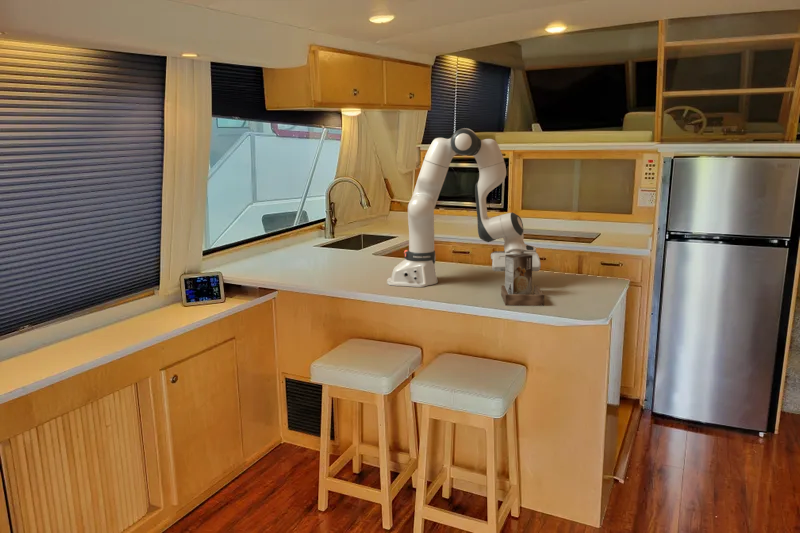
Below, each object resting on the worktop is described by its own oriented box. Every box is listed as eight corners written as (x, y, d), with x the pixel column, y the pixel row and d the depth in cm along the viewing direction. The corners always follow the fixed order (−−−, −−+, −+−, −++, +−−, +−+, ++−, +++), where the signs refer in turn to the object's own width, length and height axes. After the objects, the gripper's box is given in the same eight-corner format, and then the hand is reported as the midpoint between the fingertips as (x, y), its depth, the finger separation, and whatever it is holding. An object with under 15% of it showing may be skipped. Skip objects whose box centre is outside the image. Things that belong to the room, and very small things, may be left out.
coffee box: (522, 290, 245) (524, 252, 241) (531, 293, 239) (533, 255, 235) (504, 292, 241) (505, 254, 238) (512, 296, 235) (514, 257, 232)
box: (505, 305, 223) (505, 295, 222) (501, 294, 238) (501, 285, 237) (543, 305, 222) (544, 295, 221) (536, 295, 237) (537, 285, 236)
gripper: (490, 247, 249) (492, 274, 242) (539, 247, 248) (542, 274, 241) (489, 255, 254) (491, 282, 247) (537, 255, 253) (540, 282, 246)
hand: (517, 278), depth 244 cm, fingers closed
